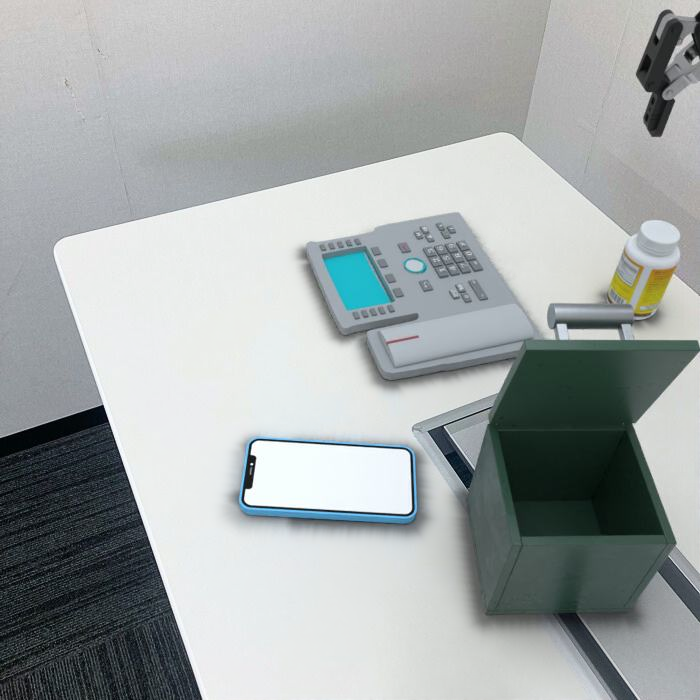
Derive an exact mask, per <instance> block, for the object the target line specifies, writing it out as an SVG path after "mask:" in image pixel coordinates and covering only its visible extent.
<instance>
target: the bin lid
mask: <svg viewBox="0 0 700 700" xmlns="http://www.w3.org/2000/svg"><path fill="white" fill-rule="evenodd" d="M547 307H548V308H547V312H546V323H547V326H548V328H549V329H550V330H553V332H554V338H555V339H544V340H524V342H523V344H522V346H521V348H520V350H519V352H518V354H517V356H516V357H514V361H513V363H512V365H511V366H510V369H509V371H508V373H507V374H506V377H505V379H504V382H503V383H502V385H501V388H500V390H499V391H498V393H497V396H496V398H495V399H494V401H493V404H492V406H491V408H490V410H489V412H488V414H487V416H488V417H487V418H488V424H630V423H632V424H636V423H638V421H639V420H640V419H641V418H642V417H643V416H644V415H645V414H646V412H647V411H648V410H649V409H650V408H651V407H652V405H654V403H655V402H656V401H657V400H659V398H660V397H661V395H663V393H665V391H666V390H667V389H668V388H669V387H670V386H671V384H673V382H674V381H676V379H677V378H678V377H679V376H680V375H681V373H682V372H683V371H684V370H685V369H686V368H687V367H688V365H690V363H691V362H692V361H693V360H694V358H696V356H697V355H698V354H699V353H700V343H699V340H698V339H635V335H634V332H633V325H634V322H635V320H634V310H633V307H632V305H631V304H608V303H598V302H597V303H584V302H583V303H581V302H579V303H577V302H573V303H571V302H567V303H566V302H564V303H563V302H558V303H557V302H551V303H549V304H548V306H547ZM569 330H589V331H590V330H593V331H594V330H595V331H596V330H597V331H599V330H601V331H603V330H604V331H605V330H615V331H616V330H617V331H618V335H619V339H570V335H569Z"/></svg>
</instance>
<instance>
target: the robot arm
mask: <svg viewBox="0 0 700 700" xmlns="http://www.w3.org/2000/svg"><path fill="white" fill-rule="evenodd" d="M689 35H691V39H692V40H691V41H690V42H688V43H687V44H686V45H685V46H684V47H683V48H682V49H680V51H679V52H678V53H676V54H675V56H674V57H673V60H672V62H671V63H670V61H671V59H672V56H673V54H674V51H675V50H676V48H677V47H678V46H681V45H683V41H684V40H685V38H686V37H687V36H689ZM676 46H677V47H676ZM697 57H698V60H699V61H697V63H695V64H693V61H694V60H695V59H696V58H697ZM635 77H636V79H637V80H638V82H639V83H640V85H641V86H642V88H643V90H644V91H645V92H646V93H650V94H651V95H650V97H649V100H648V103H647V105H646V108H645V112H644V113H643V117H642V121H643V124H644V126H645V127H646V130H647V131H648V133H649V135H650V137H652V138H661V137H662V136H663V134H664V131H665V128H666V127H667V123H668V122H669V121H668V120H669V118H670V117H671V113H672V111H673V108H674V105H675V103H676V99H675V97H676V96H678V95H679V94H680V93H681V92H683V91H684V90H685V89H686V88H687V87H689V86H690V85H692V84H697V83H699V82H700V10H699V11H698V12H697V13H696V14H695V15H694V16H685V15H684V16H683V15H676V14H675V13H674V12H673V11H672V10H671V9H664V10H662V11H661V12H659V15H658V16H657V19H656V22H655V24H654V26H653V29H652V31H651V33H650V36H649V39H648V42H647V45H646V46H645V49H644V52H643V54H642V57H641V59H640V61H639V64H638V66H637V69H636V71H635Z"/></svg>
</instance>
